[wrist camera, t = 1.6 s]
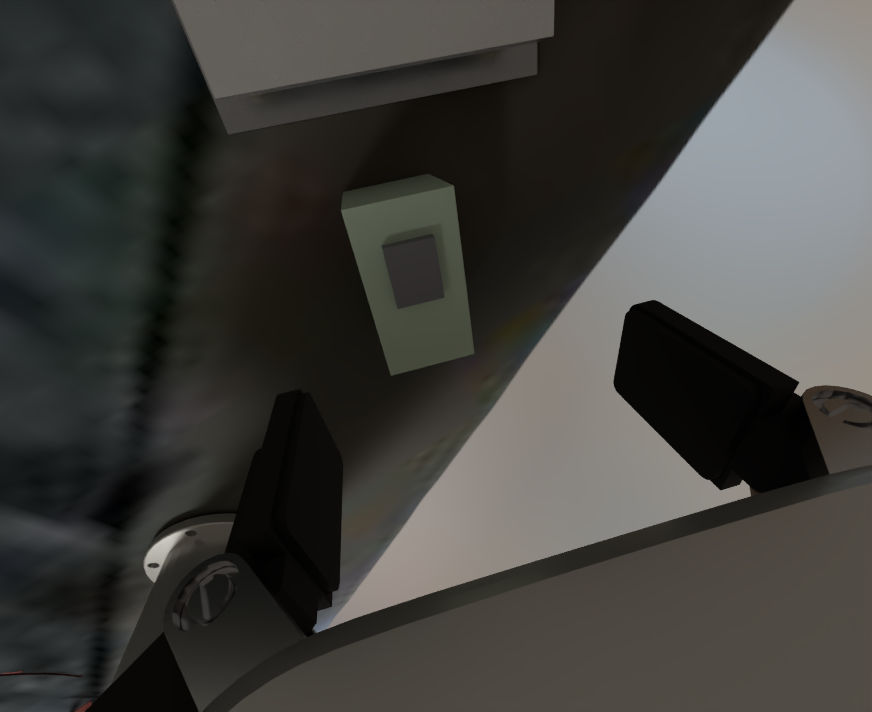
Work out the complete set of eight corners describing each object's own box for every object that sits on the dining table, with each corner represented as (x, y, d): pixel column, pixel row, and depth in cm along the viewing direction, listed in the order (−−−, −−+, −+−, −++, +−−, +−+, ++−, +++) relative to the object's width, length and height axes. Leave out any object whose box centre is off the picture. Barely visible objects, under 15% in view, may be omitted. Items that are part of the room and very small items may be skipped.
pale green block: (449, 310, 25) (477, 359, 20) (382, 327, 25) (391, 382, 19) (427, 173, 20) (457, 187, 15) (342, 191, 20) (340, 212, 14)
